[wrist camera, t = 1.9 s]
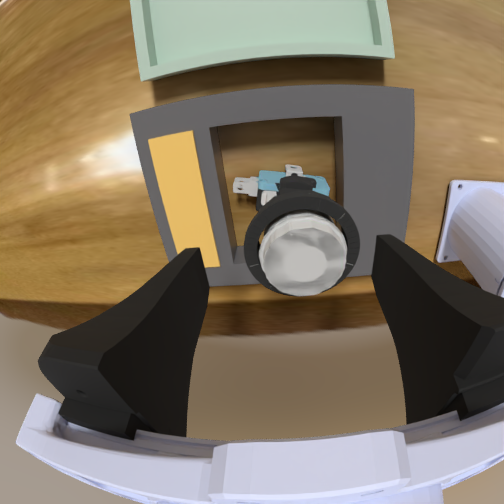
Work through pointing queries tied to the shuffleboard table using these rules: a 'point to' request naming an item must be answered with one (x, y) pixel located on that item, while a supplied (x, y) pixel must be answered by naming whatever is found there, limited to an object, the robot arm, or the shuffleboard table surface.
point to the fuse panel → (269, 108)
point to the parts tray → (254, 32)
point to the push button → (297, 233)
